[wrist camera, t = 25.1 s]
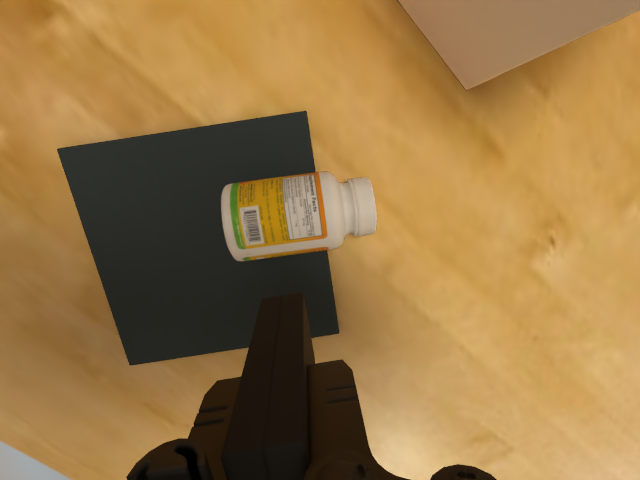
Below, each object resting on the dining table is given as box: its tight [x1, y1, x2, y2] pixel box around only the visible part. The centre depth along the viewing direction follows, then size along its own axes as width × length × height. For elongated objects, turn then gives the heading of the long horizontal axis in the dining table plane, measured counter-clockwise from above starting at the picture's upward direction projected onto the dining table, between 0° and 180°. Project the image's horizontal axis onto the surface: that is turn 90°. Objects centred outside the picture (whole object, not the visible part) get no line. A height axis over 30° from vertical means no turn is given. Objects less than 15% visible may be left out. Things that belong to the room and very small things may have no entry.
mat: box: [57, 111, 339, 365], centre depth 27 cm, size 18×18×1 cm
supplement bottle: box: [221, 172, 377, 261], centre depth 24 cm, size 5×5×10 cm
